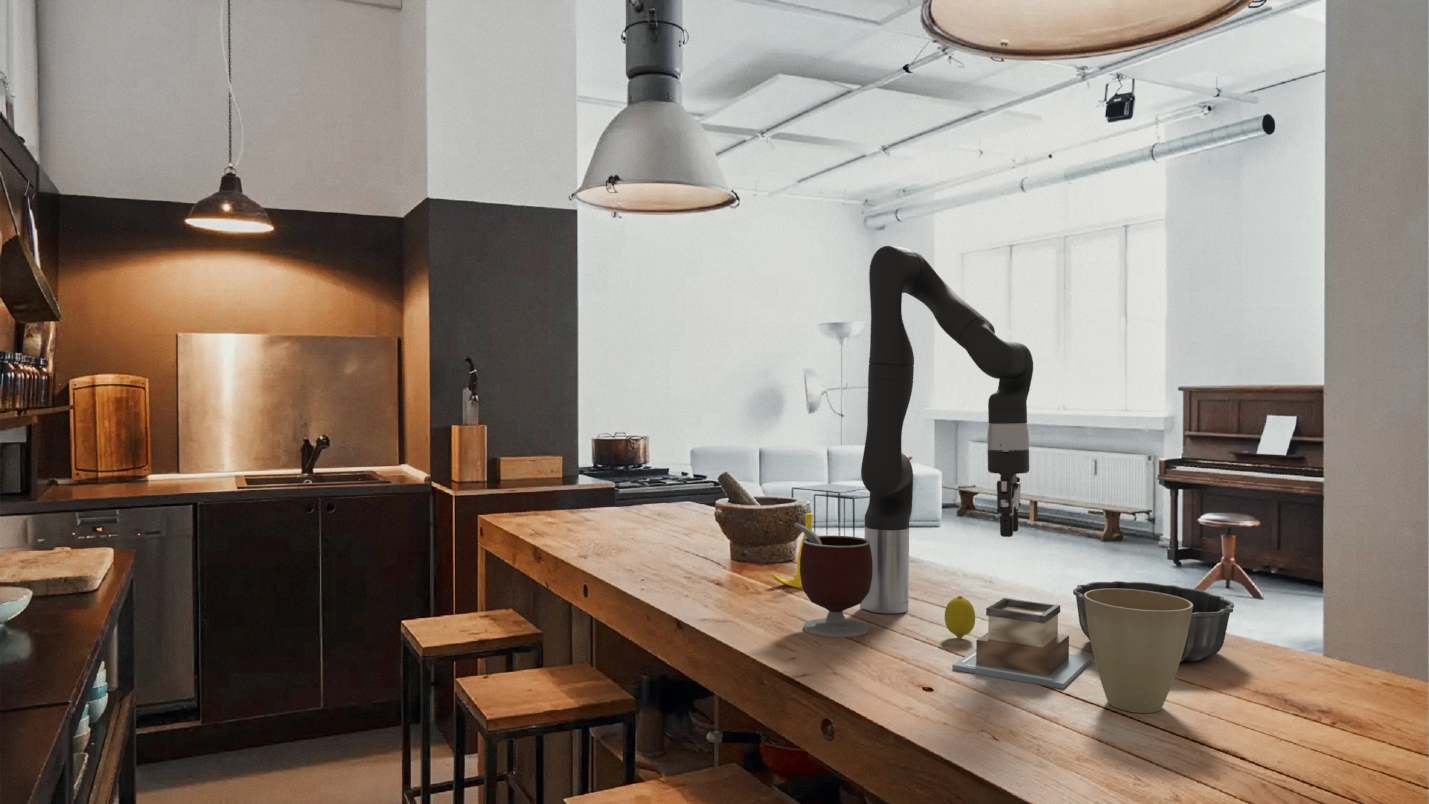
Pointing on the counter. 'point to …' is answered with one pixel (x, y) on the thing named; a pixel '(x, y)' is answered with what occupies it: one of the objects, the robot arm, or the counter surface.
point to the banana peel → (797, 579)
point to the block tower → (1023, 637)
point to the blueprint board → (1056, 679)
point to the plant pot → (1137, 644)
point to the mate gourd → (835, 580)
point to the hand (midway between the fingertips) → (1009, 533)
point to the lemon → (959, 616)
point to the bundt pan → (1205, 617)
